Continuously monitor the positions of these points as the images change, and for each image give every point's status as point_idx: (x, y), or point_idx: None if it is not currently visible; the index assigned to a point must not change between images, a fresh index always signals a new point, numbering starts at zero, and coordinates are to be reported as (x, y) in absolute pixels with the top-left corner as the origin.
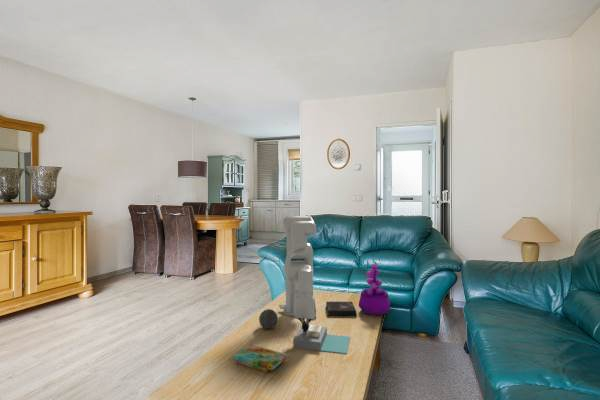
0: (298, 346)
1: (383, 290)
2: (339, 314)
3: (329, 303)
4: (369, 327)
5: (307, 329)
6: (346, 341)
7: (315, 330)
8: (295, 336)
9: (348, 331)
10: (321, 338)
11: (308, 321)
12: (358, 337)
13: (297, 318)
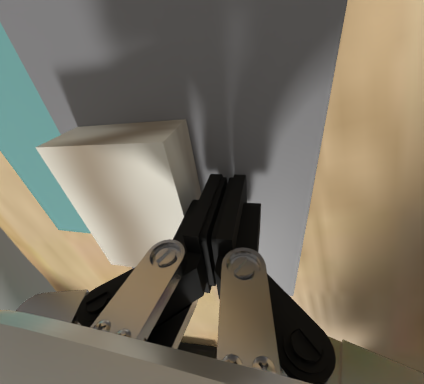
0: None
1: None
2: (178, 349)
3: None
4: (66, 288)
5: (197, 200)
6: (37, 186)
7: (93, 174)
8: (330, 56)
9: (99, 266)
10: (49, 105)
11: (130, 274)
12: (40, 230)
13: (363, 362)
